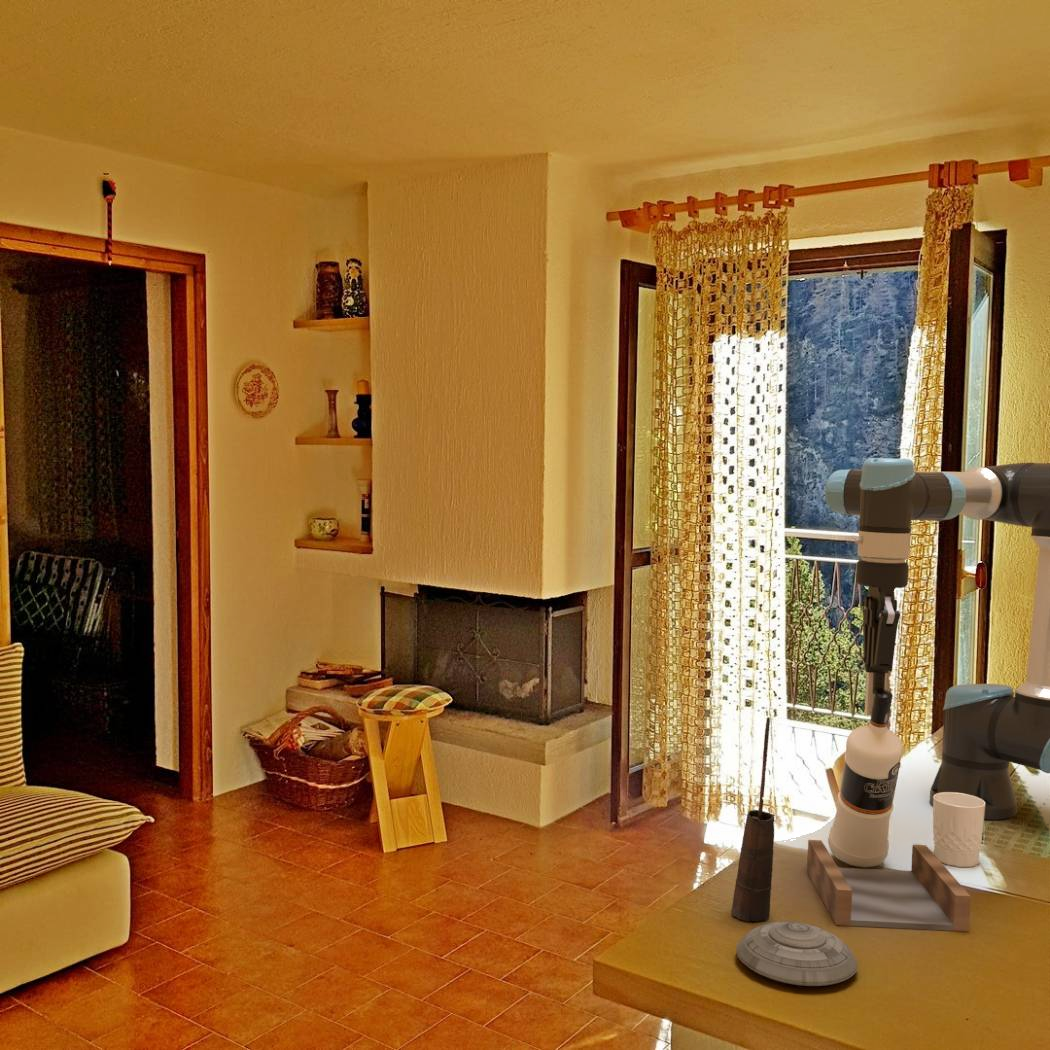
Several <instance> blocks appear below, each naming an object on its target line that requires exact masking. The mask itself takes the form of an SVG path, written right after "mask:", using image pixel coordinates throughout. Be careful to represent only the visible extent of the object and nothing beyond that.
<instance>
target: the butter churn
mask: <svg viewBox="0 0 1050 1050" xmlns="http://www.w3.org/2000/svg"><path fill="white" fill-rule="evenodd" d="M770 718H771V717H770V716H767V717H766V723H765V729H764V737H763V738H764V740H763V751H762V768H761V779H760V788H759V789H760V790H759V803H758V809H753V810H749V811H748V812H747V815H746V820H745V825H744V829H743V837H742V840H741V841H742V842H741V848H740V853H739V860H738V867H737V869H738V870H737V875H736V879H735V884H734V892H733V897H732V898H733V899H732V906H731V914H732V916H733V917H735V918H737V919H739V920H740V921H744V922H747V923H750V922H753V921H754V922H765V921H768V920H769V919H770V912H771V898H772V897H771V892H772V880H773V879H772V878H773V864H774V845H775V844H774V843H775V842H774V841H775V814H773V813H770V812H767V811H763V808H764V799H763V798H764V797H765V785H766V770H767V762H768V747H769V739H770V738H769V737H770V735H769V734H770V725H771V724H770V723H771V719H770Z"/></svg>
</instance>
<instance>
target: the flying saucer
mask: <svg viewBox="0 0 1050 1050" xmlns="http://www.w3.org/2000/svg"><path fill="white" fill-rule="evenodd" d="M735 951H736V955H737V957H738V958H739V960H740V961H741V962H742V963H743V964H744V966H746V967H747V968H749V969H750V970H752V971H753V972H755V973H757V974H759V975H760V976H763V977H766V978H767V979H770V980H773V981H776V982H780V983H784V984H789V985H796V986H804V987H806V986H807V987H821V986H830V985H835V984H839V983H841V982H844V981H847V980H848V979H850V978H851V977H853V976H854V975H855V974H856V973H857V972H858V969H859V962H858V960H857V958H856V956H855V955H854V952H853V951H852V950H851V949H850V947H849V946H848V945H847V944H846V943H845V942H844V941H843V940H842V939H841V938H840V937H838V936H836V935H835V934H833V933H832V932H830V931H828V930H826V929H824V928H822V927H820V926H817V925H813V924H810V923H807V922H801V921H794V920H793V921H791V920H790V921H789V920H787V921H784V920H782V921H773V922H769V923H765V924H762V925H759V926H756V927H754V928H753V929H751V930H750V931H748V932H747V933H746V934H745V935H743V937H742V938H741V939H740V940H739V941H738V943H737V945H736V948H735Z"/></svg>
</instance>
